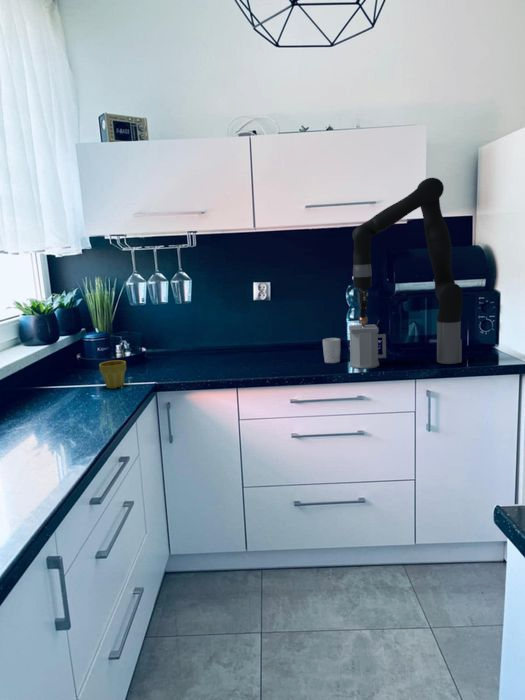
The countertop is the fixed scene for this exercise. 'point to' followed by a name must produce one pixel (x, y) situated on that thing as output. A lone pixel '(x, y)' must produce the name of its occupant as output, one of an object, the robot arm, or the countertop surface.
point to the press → (365, 346)
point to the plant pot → (113, 373)
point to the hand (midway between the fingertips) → (363, 317)
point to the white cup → (331, 350)
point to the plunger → (363, 321)
